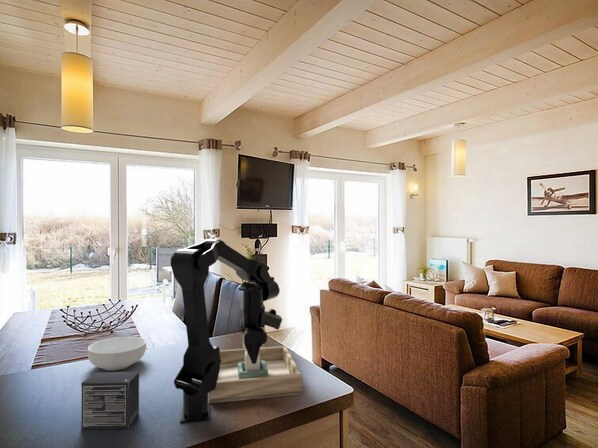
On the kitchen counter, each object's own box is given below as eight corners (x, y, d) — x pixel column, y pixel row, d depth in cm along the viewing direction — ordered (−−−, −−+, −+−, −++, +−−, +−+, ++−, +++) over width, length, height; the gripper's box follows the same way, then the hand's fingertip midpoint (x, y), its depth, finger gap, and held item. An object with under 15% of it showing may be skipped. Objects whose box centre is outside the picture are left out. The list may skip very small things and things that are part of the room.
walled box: (301, 394, 97) (301, 375, 97) (209, 403, 92) (209, 383, 92) (285, 360, 120) (285, 345, 120) (210, 366, 115) (211, 350, 115)
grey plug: (259, 378, 105) (259, 351, 105) (245, 380, 104) (245, 352, 104) (258, 373, 108) (258, 346, 108) (244, 374, 108) (244, 347, 108)
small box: (140, 414, 87) (140, 370, 87) (128, 429, 80) (128, 382, 80) (95, 414, 86) (95, 370, 86) (79, 430, 80) (80, 382, 80)
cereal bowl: (132, 377, 107) (132, 353, 107) (75, 377, 107) (75, 353, 107) (154, 356, 124) (154, 335, 124) (105, 356, 124) (105, 335, 124)
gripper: (285, 310, 99) (285, 367, 99) (275, 296, 117) (275, 345, 117) (244, 312, 96) (244, 371, 96) (240, 298, 115) (240, 347, 115)
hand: (252, 357), depth 106 cm, fingers open, 9 cm apart
